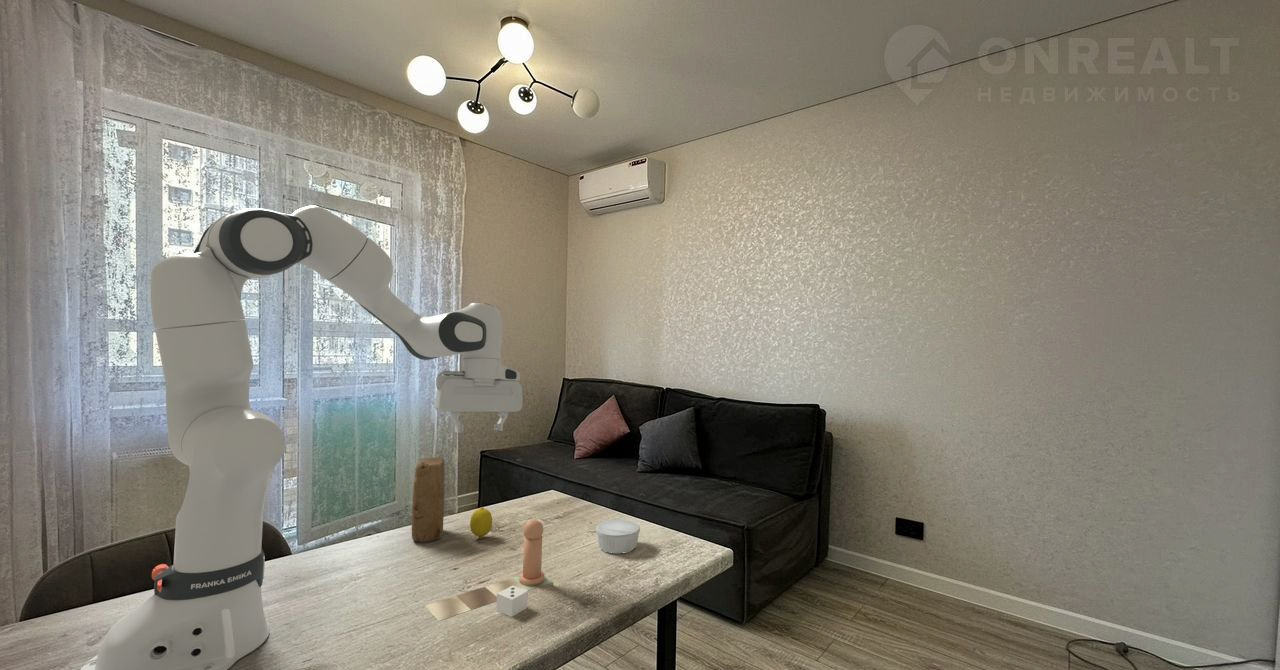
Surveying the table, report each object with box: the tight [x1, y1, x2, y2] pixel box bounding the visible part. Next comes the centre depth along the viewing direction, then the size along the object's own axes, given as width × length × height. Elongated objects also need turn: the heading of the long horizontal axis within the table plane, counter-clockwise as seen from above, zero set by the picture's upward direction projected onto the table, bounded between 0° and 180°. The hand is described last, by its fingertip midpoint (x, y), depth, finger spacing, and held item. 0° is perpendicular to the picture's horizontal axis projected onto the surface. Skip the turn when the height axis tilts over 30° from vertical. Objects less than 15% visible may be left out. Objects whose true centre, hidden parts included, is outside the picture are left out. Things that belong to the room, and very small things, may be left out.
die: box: [495, 586, 529, 618], centre depth 95 cm, size 4×4×4 cm
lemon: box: [469, 506, 493, 539], centre depth 132 cm, size 6×6×8 cm
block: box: [411, 457, 446, 543], centre depth 133 cm, size 11×8×20 cm
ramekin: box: [595, 519, 641, 554], centre depth 128 cm, size 11×11×5 cm
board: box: [424, 575, 554, 622], centre depth 101 cm, size 24×7×1 cm, turn 132°
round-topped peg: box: [518, 519, 545, 586], centre depth 107 cm, size 5×5×13 cm
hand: (479, 431), depth 117 cm, fingers open, 8 cm apart
